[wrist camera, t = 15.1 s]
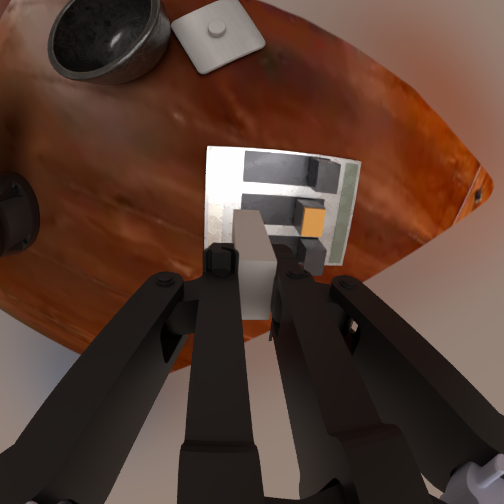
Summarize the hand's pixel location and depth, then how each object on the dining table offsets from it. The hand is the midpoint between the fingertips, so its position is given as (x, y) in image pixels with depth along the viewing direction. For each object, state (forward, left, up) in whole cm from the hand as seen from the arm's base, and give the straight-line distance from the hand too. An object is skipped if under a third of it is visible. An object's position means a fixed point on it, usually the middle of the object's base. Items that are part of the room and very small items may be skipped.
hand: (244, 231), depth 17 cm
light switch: (-4, +20, -25) cm, 32 cm away
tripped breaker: (+10, -5, -22) cm, 25 cm away
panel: (+7, -5, -24) cm, 26 cm away
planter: (-16, +19, -25) cm, 35 cm away
